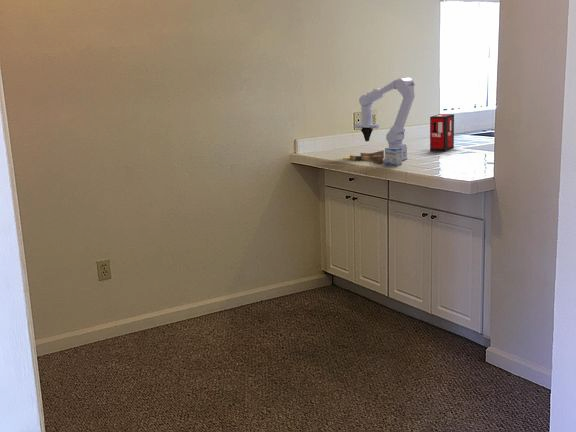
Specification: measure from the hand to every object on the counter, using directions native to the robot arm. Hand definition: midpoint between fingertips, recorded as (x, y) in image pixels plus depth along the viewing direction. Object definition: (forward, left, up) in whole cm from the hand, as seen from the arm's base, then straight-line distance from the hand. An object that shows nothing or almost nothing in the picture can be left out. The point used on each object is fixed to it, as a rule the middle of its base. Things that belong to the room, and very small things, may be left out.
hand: (367, 141), depth 359 cm
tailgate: (+2, +8, -9) cm, 12 cm away
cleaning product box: (-24, -44, -10) cm, 51 cm away
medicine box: (-26, +16, -10) cm, 32 cm away
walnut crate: (-16, +15, -10) cm, 24 cm away
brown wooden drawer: (-5, +8, -9) cm, 13 cm away
